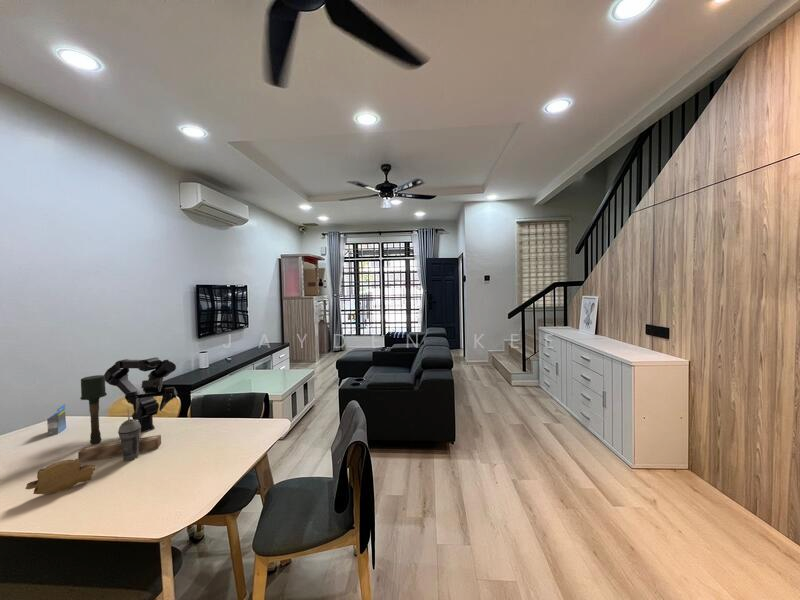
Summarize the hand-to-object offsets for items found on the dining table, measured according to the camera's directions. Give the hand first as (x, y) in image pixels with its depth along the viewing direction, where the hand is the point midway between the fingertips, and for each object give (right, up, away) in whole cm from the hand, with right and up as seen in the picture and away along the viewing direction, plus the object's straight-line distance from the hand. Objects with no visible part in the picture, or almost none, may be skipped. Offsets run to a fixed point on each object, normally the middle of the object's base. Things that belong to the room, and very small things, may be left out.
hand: (147, 412), depth 145 cm
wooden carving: (-1, -14, -35) cm, 38 cm away
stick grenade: (-24, -14, 0) cm, 28 cm away
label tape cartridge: (-56, -15, +15) cm, 60 cm away
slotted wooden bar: (-3, -14, -9) cm, 17 cm away
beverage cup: (+4, -14, -14) cm, 20 cm away
